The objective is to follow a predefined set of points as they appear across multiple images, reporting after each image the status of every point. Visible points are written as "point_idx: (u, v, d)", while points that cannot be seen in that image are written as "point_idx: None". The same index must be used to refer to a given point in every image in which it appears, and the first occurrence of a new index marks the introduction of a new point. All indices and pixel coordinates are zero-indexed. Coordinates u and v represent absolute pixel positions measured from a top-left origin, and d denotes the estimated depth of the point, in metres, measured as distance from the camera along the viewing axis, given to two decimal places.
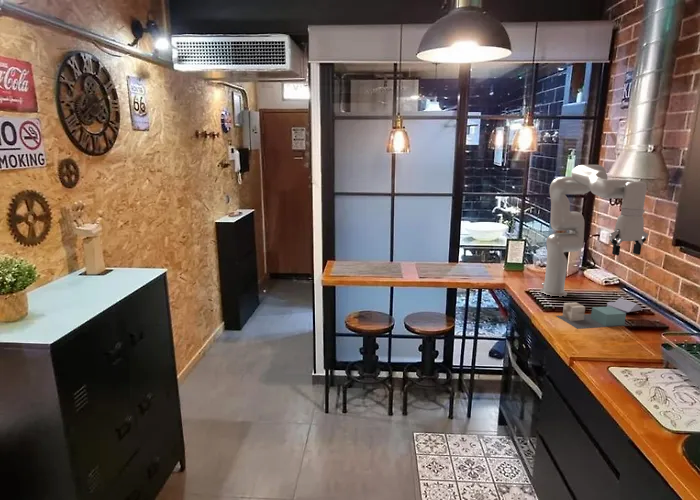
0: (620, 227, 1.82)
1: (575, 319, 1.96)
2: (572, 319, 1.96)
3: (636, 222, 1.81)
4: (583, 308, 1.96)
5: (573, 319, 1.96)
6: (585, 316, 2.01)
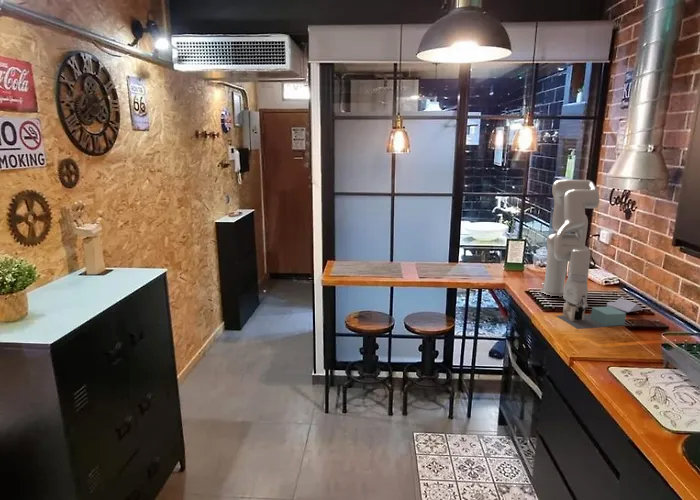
0: (585, 293, 1.92)
1: None
2: (572, 319, 1.96)
3: None
4: None
5: (573, 319, 1.96)
6: (585, 316, 2.01)
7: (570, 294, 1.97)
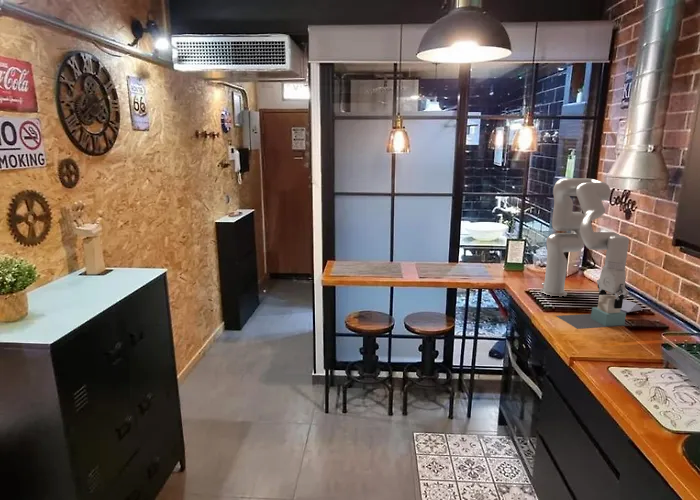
0: (623, 281, 1.87)
1: (611, 311, 1.91)
2: (608, 311, 1.91)
3: None
4: None
5: (609, 311, 1.91)
6: (585, 316, 2.01)
7: (606, 283, 1.91)
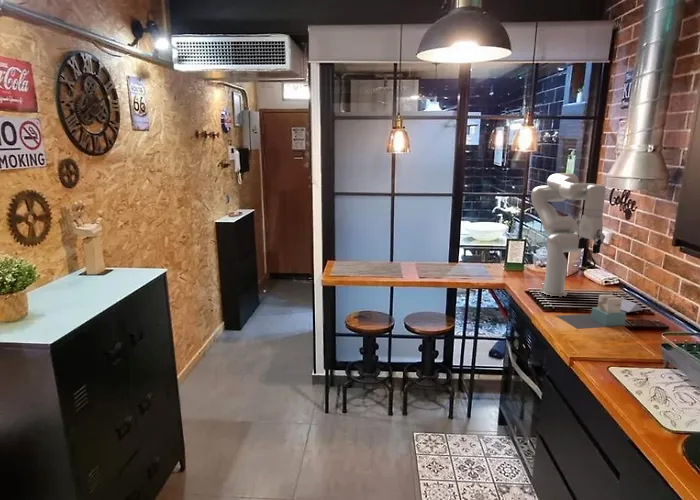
0: (600, 227, 1.99)
1: (611, 311, 1.91)
2: (608, 311, 1.91)
3: None
4: (620, 300, 1.91)
5: (609, 311, 1.91)
6: (585, 316, 2.01)
7: (585, 230, 2.04)
